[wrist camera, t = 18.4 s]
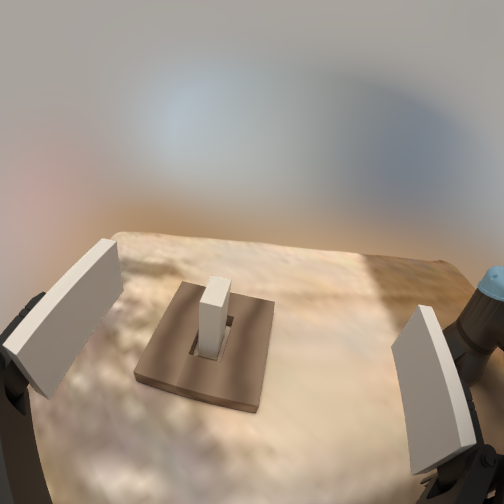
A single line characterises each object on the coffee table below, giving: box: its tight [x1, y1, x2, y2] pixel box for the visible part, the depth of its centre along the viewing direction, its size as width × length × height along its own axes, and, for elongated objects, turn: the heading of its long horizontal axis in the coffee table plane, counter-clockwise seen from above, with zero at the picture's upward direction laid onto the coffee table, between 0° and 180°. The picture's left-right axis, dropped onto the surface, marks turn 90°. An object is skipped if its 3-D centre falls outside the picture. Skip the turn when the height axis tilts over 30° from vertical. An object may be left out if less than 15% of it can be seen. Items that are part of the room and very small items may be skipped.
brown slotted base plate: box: [134, 281, 275, 413], centre depth 44 cm, size 18×22×2 cm
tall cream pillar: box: [198, 275, 232, 360], centre depth 42 cm, size 3×6×12 cm, turn 171°
